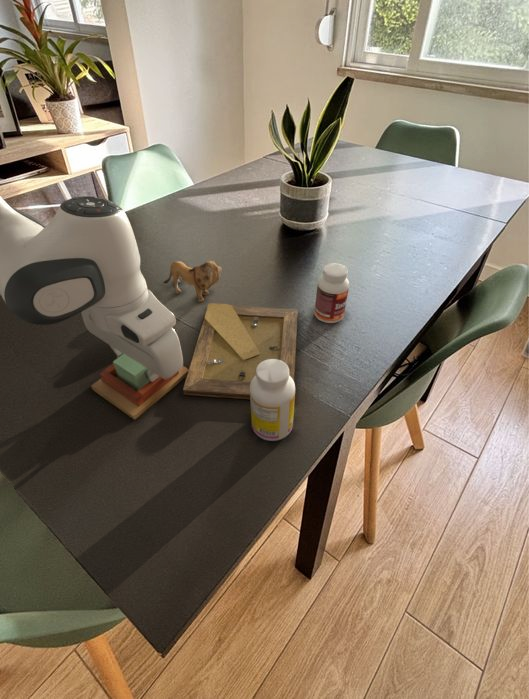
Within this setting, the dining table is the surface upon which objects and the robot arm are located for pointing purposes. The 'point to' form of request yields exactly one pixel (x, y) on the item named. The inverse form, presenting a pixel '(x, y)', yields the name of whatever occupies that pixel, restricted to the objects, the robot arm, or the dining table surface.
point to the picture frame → (239, 348)
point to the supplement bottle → (272, 400)
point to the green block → (130, 372)
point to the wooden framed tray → (134, 391)
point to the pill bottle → (332, 293)
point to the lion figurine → (195, 276)
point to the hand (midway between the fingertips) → (139, 369)
